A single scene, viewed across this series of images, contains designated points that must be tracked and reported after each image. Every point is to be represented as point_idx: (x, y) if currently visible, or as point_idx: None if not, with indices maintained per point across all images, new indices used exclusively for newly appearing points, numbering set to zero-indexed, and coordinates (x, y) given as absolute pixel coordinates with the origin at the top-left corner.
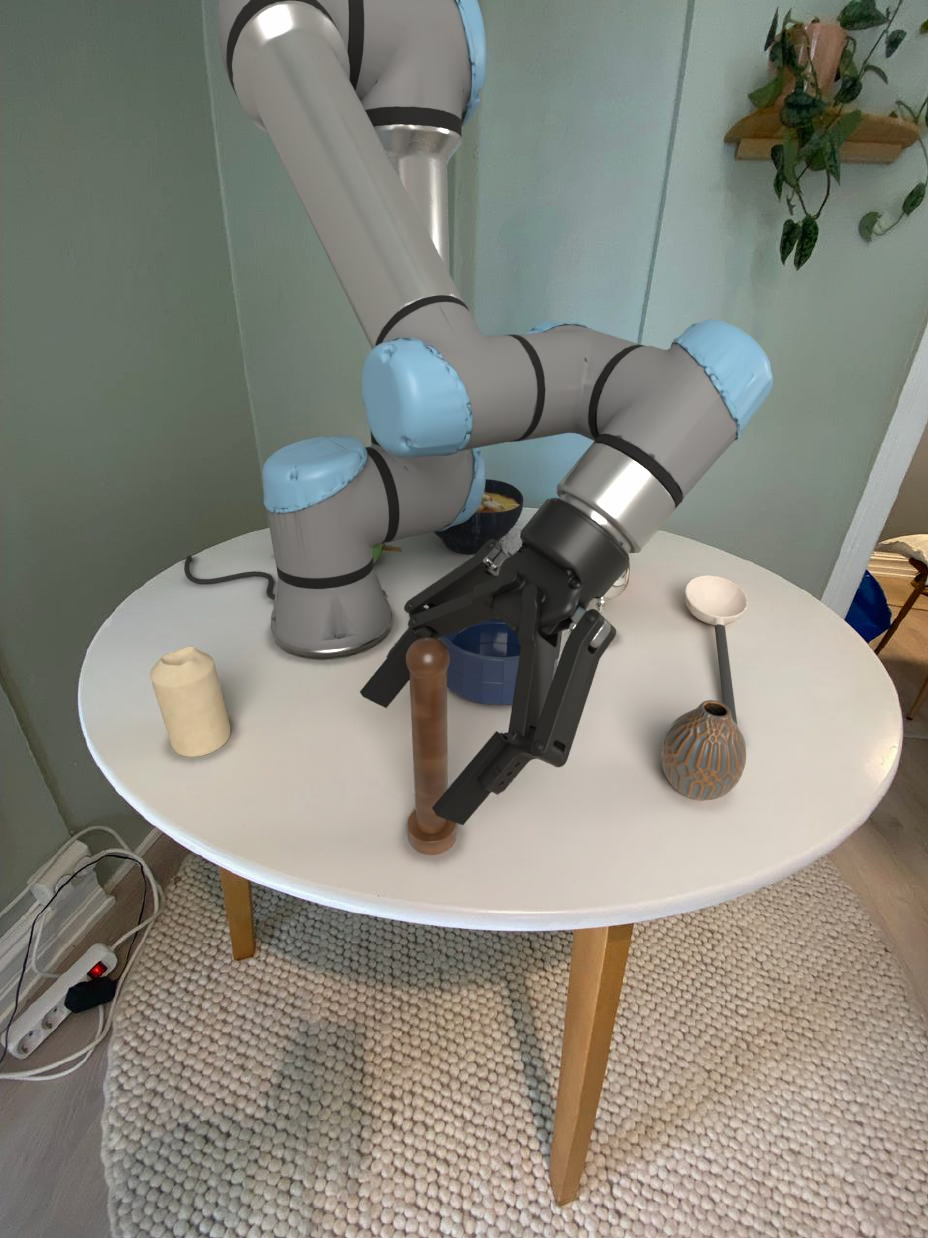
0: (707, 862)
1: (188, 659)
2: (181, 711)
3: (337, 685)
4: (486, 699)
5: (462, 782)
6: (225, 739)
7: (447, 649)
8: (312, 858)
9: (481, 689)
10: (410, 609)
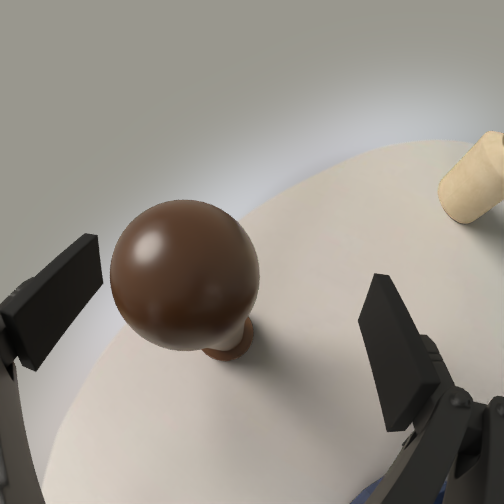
0: (60, 495)
1: None
2: (466, 157)
3: (482, 345)
4: (362, 495)
5: (56, 259)
6: (449, 212)
7: (143, 332)
8: (273, 221)
9: None
10: (492, 407)
